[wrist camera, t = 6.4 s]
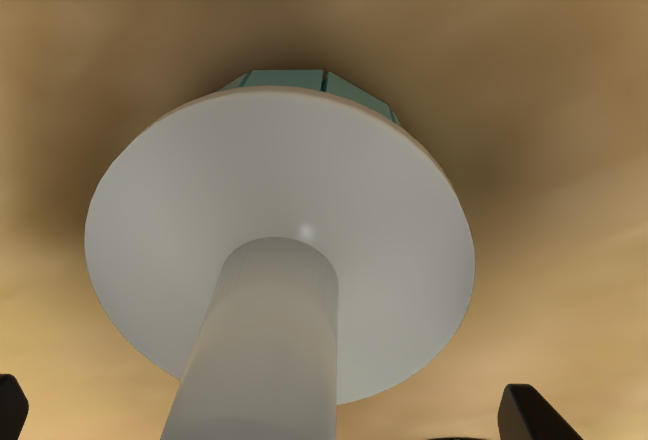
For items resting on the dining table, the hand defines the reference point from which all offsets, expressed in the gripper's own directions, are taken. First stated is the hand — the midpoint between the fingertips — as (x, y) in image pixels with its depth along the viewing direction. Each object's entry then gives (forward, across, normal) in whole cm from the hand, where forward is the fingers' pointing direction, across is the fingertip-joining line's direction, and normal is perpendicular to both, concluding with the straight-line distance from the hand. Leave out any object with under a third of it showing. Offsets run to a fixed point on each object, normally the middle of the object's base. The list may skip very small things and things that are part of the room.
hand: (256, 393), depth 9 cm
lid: (+4, 0, 0) cm, 4 cm away
